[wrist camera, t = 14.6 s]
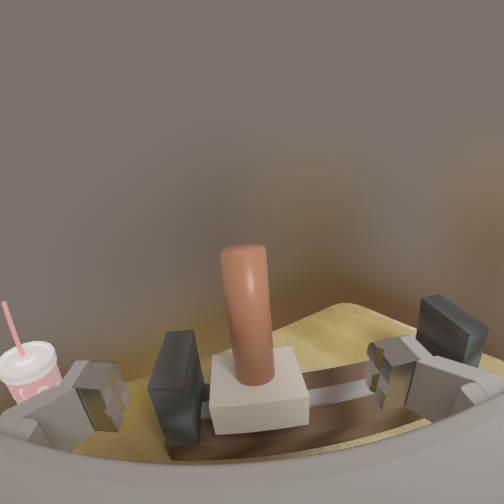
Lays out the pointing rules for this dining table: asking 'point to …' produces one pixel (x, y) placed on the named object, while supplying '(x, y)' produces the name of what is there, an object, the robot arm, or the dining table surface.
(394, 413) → the rail
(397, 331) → the dining table surface
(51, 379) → the beverage cup
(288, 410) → the peach cylinder post
